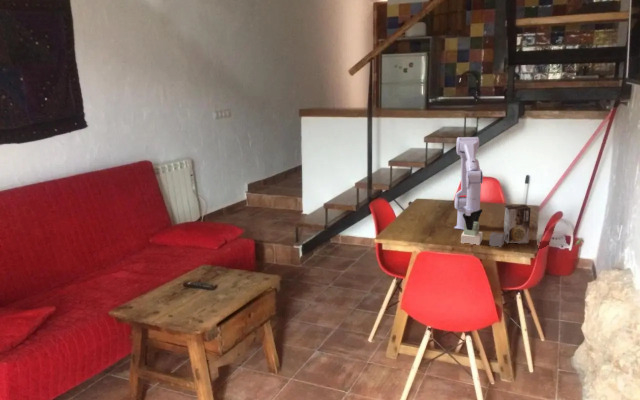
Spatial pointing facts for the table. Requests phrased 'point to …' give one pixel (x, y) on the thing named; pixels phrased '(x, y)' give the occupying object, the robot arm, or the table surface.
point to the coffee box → (516, 224)
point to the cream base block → (471, 238)
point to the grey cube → (496, 239)
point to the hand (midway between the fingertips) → (472, 227)
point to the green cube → (474, 230)
